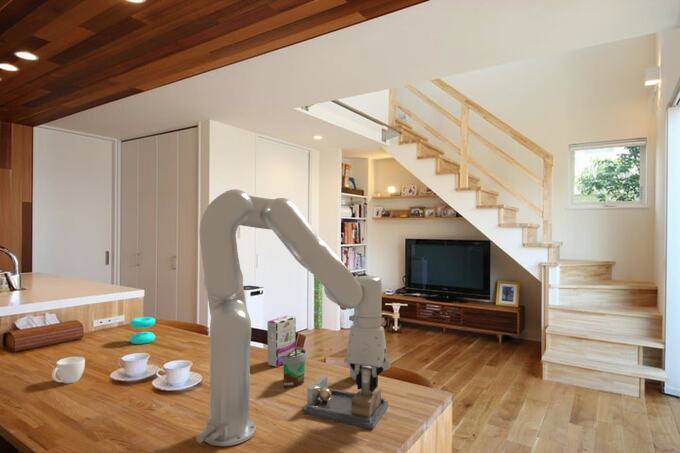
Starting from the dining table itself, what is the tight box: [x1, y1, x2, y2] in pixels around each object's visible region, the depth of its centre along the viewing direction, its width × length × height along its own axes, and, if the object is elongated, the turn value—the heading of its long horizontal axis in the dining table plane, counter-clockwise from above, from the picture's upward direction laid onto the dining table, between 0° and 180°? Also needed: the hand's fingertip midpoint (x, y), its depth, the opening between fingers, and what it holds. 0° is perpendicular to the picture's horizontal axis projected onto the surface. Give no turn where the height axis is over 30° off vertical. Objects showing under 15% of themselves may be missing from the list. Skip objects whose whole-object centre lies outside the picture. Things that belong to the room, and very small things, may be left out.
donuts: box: [129, 316, 156, 345], centre depth 175 cm, size 10×10×10 cm
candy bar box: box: [267, 315, 297, 368], centre depth 151 cm, size 11×5×16 cm, turn 148°
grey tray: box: [302, 375, 389, 430], centre depth 112 cm, size 14×20×6 cm
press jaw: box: [352, 366, 382, 417], centre depth 109 cm, size 10×5×11 cm, turn 157°
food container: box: [282, 346, 309, 389], centre depth 131 cm, size 12×6×10 cm, turn 168°
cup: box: [51, 356, 86, 384], centre depth 130 cm, size 8×10×7 cm
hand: (366, 388), depth 109 cm, fingers closed on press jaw, 3 cm apart
